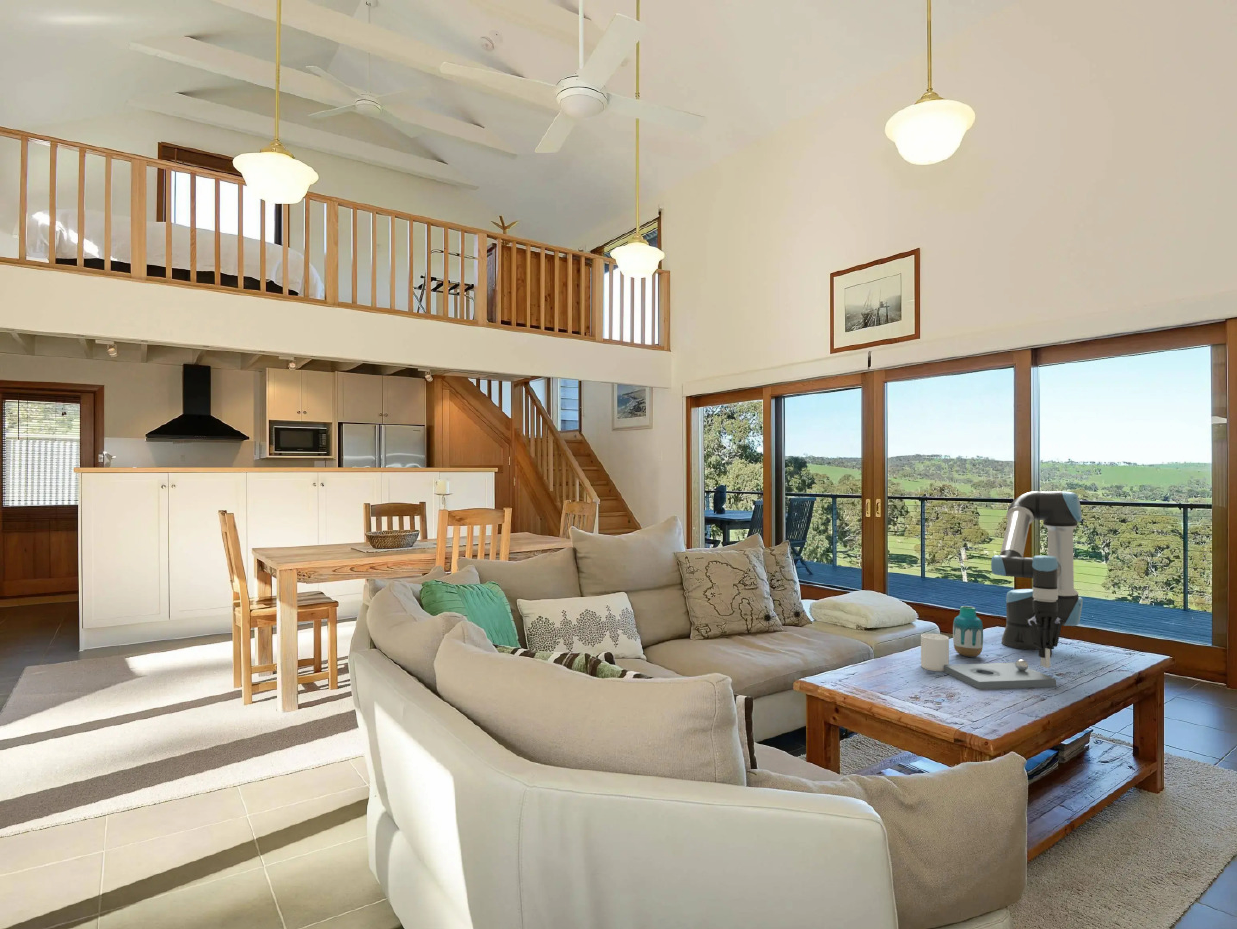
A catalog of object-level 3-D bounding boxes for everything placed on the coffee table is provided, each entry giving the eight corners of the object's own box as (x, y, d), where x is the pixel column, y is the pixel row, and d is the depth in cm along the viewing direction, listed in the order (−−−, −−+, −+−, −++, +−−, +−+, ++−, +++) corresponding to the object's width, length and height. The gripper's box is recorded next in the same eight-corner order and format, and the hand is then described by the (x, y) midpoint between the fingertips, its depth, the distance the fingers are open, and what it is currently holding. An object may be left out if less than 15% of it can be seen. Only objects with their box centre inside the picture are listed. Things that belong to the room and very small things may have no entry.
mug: (937, 673, 246) (937, 640, 246) (909, 665, 257) (909, 633, 257) (954, 669, 251) (954, 637, 251) (926, 661, 261) (926, 631, 261)
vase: (947, 654, 272) (946, 606, 272) (965, 651, 276) (965, 603, 276) (970, 661, 262) (970, 610, 262) (989, 657, 267) (989, 608, 267)
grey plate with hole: (1015, 669, 251) (1015, 662, 251) (1056, 686, 231) (1056, 679, 231) (943, 671, 248) (943, 664, 248) (979, 689, 228) (979, 681, 228)
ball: (1023, 669, 243) (1023, 657, 243) (1031, 672, 239) (1031, 660, 239) (1012, 669, 242) (1012, 658, 242) (1020, 672, 238) (1020, 661, 238)
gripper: (1054, 597, 246) (1054, 663, 246) (1020, 598, 245) (1020, 664, 244) (1070, 601, 239) (1070, 669, 238) (1035, 602, 237) (1036, 670, 237)
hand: (1045, 666), depth 241 cm, fingers closed
